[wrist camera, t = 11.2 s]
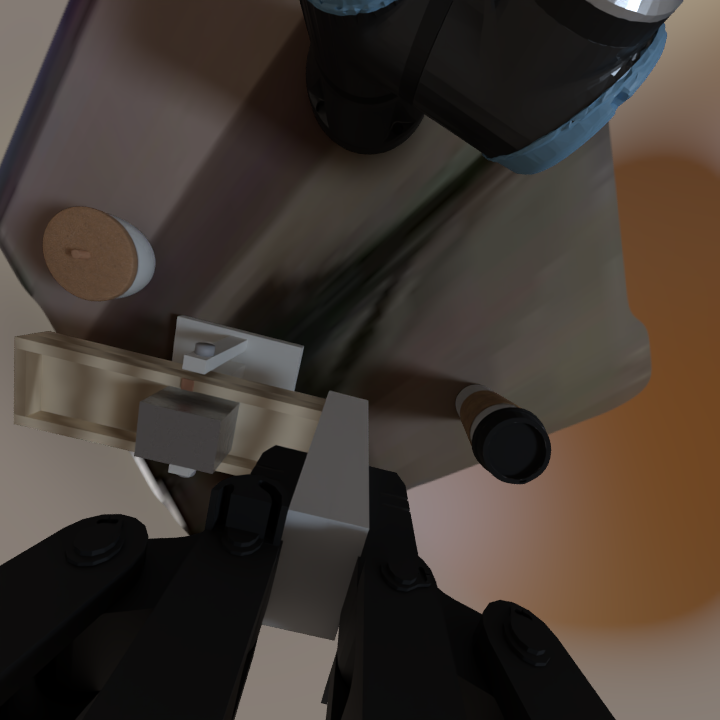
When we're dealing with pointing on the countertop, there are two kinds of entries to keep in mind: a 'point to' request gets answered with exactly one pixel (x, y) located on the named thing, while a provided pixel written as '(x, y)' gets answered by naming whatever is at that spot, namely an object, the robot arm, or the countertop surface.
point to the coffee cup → (503, 435)
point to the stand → (234, 357)
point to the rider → (186, 429)
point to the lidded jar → (97, 254)
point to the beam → (137, 382)
